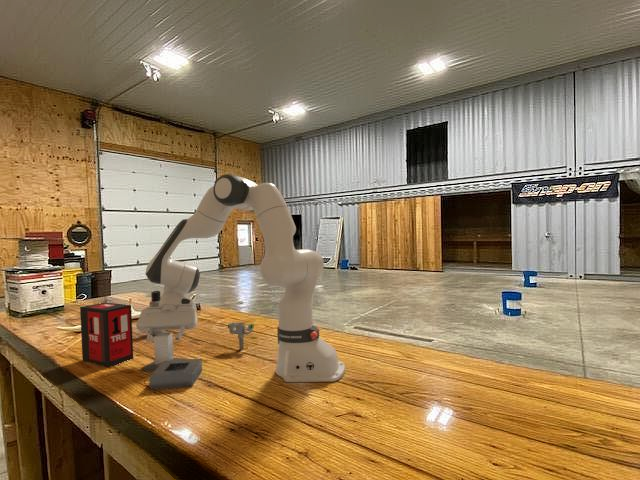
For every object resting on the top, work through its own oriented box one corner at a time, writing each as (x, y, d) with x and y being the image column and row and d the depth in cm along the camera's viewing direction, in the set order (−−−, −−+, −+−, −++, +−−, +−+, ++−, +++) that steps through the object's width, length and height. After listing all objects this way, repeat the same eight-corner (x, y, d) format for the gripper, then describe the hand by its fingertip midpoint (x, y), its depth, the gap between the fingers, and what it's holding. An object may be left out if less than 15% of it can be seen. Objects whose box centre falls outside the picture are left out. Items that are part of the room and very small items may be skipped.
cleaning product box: (133, 358, 124) (131, 305, 124) (108, 367, 117) (106, 310, 116) (107, 352, 132) (104, 302, 132) (82, 360, 124) (80, 306, 124)
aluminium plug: (173, 360, 119) (172, 332, 119) (169, 365, 114) (167, 335, 114) (160, 361, 118) (158, 332, 118) (155, 366, 114) (154, 336, 114)
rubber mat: (186, 361, 120) (186, 358, 120) (167, 372, 110) (167, 369, 110) (162, 359, 122) (162, 357, 122) (141, 370, 113) (141, 367, 113)
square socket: (202, 370, 111) (201, 358, 111) (192, 386, 99) (191, 373, 99) (164, 373, 110) (163, 361, 110) (150, 389, 98) (149, 376, 98)
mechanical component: (252, 350, 129) (251, 324, 128) (227, 349, 131) (226, 324, 131) (255, 348, 132) (254, 322, 131) (231, 347, 134) (230, 322, 133)
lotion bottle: (166, 331, 159) (164, 289, 159) (159, 335, 154) (157, 292, 153) (155, 332, 160) (153, 290, 159) (148, 335, 154) (146, 292, 154)
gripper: (139, 302, 123) (128, 337, 113) (197, 299, 125) (191, 333, 115) (145, 312, 127) (135, 346, 117) (201, 309, 129) (195, 342, 120)
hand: (163, 340), depth 116 cm, fingers open, 8 cm apart
